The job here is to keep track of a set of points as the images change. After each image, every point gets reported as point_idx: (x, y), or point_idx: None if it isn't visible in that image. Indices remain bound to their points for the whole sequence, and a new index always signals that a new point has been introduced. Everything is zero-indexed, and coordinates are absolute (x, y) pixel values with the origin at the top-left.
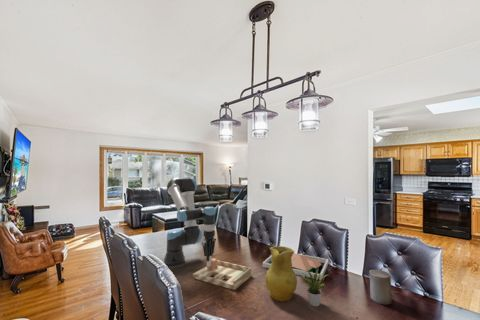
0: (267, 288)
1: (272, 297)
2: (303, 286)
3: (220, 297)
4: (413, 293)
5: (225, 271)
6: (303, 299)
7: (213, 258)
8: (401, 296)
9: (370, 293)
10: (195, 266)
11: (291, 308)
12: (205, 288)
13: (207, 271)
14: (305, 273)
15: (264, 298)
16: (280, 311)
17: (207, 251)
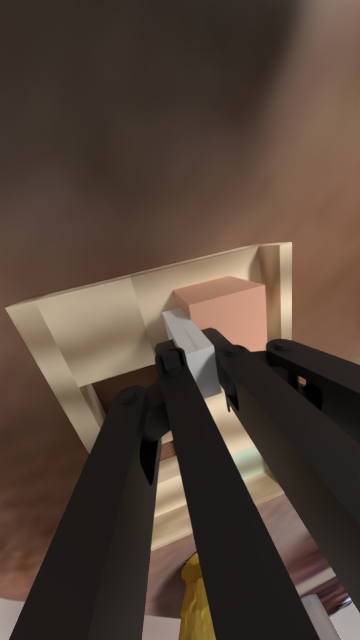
0: (187, 595)
1: (184, 568)
2: (283, 548)
3: (47, 525)
4: (343, 599)
5: (211, 412)
6: None
7: (262, 317)
8: (327, 601)
9: (308, 610)
10: (165, 116)
11: (175, 600)
12: (28, 448)
13: (132, 348)
14: None
15: (166, 563)
16: (145, 604)
17: (143, 538)
